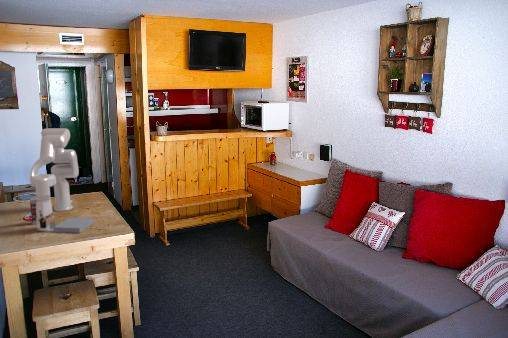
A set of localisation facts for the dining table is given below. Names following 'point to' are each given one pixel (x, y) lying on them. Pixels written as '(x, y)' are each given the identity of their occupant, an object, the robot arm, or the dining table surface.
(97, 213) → the dining table surface
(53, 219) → the block
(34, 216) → the supplement box
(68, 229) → the stand
